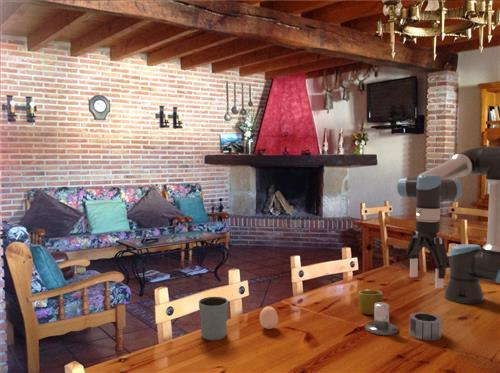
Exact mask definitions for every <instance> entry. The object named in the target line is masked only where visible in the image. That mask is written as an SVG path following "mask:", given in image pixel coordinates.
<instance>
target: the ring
mask: <svg viewBox="0 0 500 373" xmlns="http://www.w3.org/2000/svg"><path fill="white" fill-rule="evenodd" d="M442 322H443V319H442V317H441V316H438V315H437V314H435V313H431V312H423V311H419V312H412V313H410V314H409V327H408V328H409V329H408V332H409V335H410V336H412V338H416V339H418V340H421V341H429V342H430V341H439V340H440V339H441V338H442V326H443V324H442Z"/></svg>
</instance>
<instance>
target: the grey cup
mask: <svg viewBox="0 0 500 373" xmlns="http://www.w3.org/2000/svg"><path fill="white" fill-rule="evenodd" d="M228 306H229V300H228V299H227V298H225V297H223V296H208V297H204V298H203V297H202V298H201V299H199V300H198V308H199V316H200V332H201V337H202V338H203V339H204V340H207V341H217V340H222V339H224V338H226V336H227V331H228V330H227V328H228V327H227V322H228V321H227V320H228V308H229V307H228Z"/></svg>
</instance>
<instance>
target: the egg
mask: <svg viewBox="0 0 500 373" xmlns="http://www.w3.org/2000/svg"><path fill="white" fill-rule="evenodd" d="M278 321H279V315H278V312H277V310H276V309H275V308H274V307H272V306H265V307H264V308H263V309H262V310H261V311H260V314H259V323H260V324H261V326H262V327H263V328H264V329H266V330H272V329H274V328H275V327H277V325H278Z"/></svg>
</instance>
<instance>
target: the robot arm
mask: <svg viewBox="0 0 500 373" xmlns="http://www.w3.org/2000/svg"><path fill="white" fill-rule="evenodd" d="M469 175H481V176H485V180H486V182H487V183H488V184H489V189H488V190H489V194H488V196H489V197H488V213H487V214H488V215H487V216H488V217H487V231H486V232H487V234H486V243H485V244H484V245H483V246H482V247H481V245H478V244H471V243H466V244H465V243H463V244H461V243H460V244H456V245H452V246H451V247H450V250H449V251H450V252H449V254H447V249H446V246H445V238H444V237H438V235H437V234H438V233H439V232H440V226H441V225H440V224H441V223H440V220H441V202H452V201H456V200H458V199H460V198H461V196H462V195H463V192H464V190H463V185H462V183H461V182H460V181H459V180H458V179H457V178H459V177H460V178H461V177H466V176H469ZM396 188H397V191H396V192H397V193H398V195H399V196H401V197H403V198H408V199H416V207H415V208H416V209H415V213H416V214H415V218H416V221H415V231H414V230H413V231H411V238H410V240H409V243H408V246H407V248H406V251H405V255H406V256H408V258H409V277H410V278H417V277H419V275H418V274H419V268H418V267H419V256H418V255H419V254H420V253H421V251H422V250H423V248H425V249H427V250H428V251H429V252H430V254H431V257H432V258H433V260H434V263H435V265H436V267H435V270H434V271H435V272H434V273H435V274H434V277H435V279H434V288H435V289H444V282H445V281H444V279H445V276H446V269H449V272H448V273H449V276H448V282H447V284H446V287H445V289H444V292H443V294H444V295H443V297H444V298H445V299H446V300H448V301H452V302H455V303H460V304H466V305H474V304H475V305H476V304H482V303H483V302H484V293H483V290H482V286H481V283H480V279H481V280H486V281H490V282H494V283H497V284H500V145H498V146H497V145H492V146H491V145H490V146H488V145H487V146H476V147H471V148H468V149H466V150H464V151H461V152H458V153H457V154H454V155H453V156H452V157H451V158H450V159H449V160H447V161H445V162H443V163H440V164H438V165H436V166H434V167H433V168H429V169H427V170H426V171H424V172H422V173H420V174H417V175H415V176H411V177H409V176H405V177H401V178H400V179H399V180H398V181H397V184H396ZM448 256H449V257H448Z"/></svg>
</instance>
